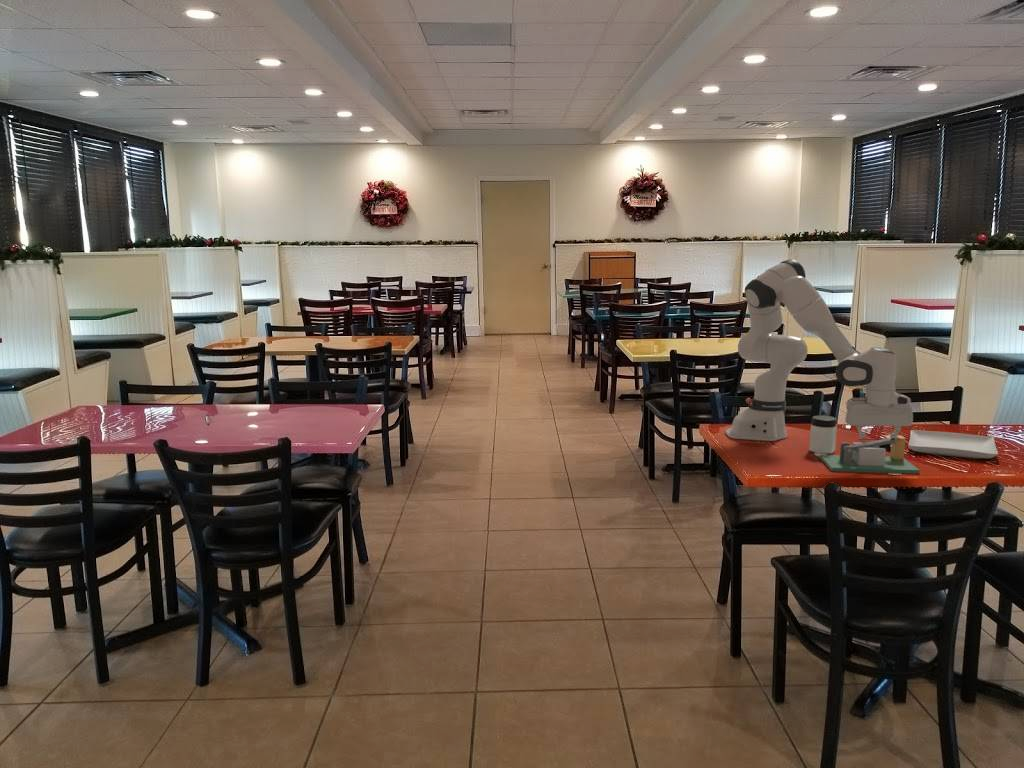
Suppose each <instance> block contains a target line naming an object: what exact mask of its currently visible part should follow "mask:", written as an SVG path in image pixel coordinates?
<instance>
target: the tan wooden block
mask: <svg viewBox="0 0 1024 768" xmlns="http://www.w3.org/2000/svg"><path fill="white" fill-rule="evenodd" d="M890 436H891V435H890V434H887V435H886V434H883V438H882V439H887V438H890ZM895 442H896V443H891V444H890V456H889V457H892V458H893V459H898V460H904V459H905V449H906V438H905V437H904V436H903V435H899V434H897V439H895Z"/></svg>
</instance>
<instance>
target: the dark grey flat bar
mask: <svg viewBox="0 0 1024 768" xmlns="http://www.w3.org/2000/svg"><path fill="white" fill-rule="evenodd" d="M857 443H858V444H853V443H852V444H849V445H847V446H853V450H857V449H859V447H863V448H868V447H874V446H879V447H880V446H883V445H891V443H896V442H895V439H891V438H887V439H884V438H882V439H876V440H871V441H866V442H857ZM842 449H843V450H844V449H845V446H842Z"/></svg>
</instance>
